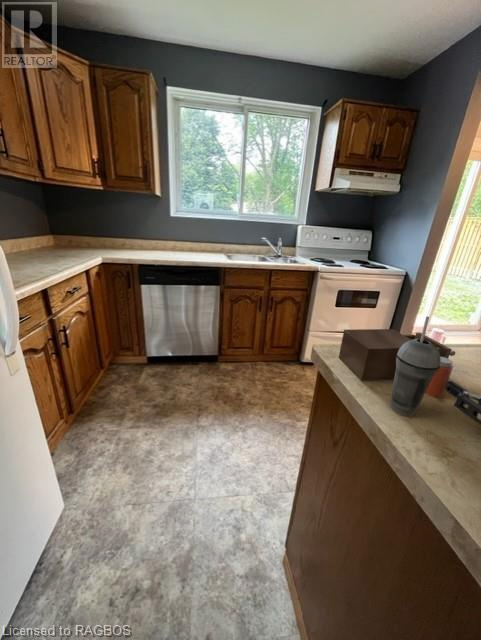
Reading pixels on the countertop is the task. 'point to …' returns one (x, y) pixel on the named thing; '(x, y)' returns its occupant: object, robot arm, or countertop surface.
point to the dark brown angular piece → (442, 348)
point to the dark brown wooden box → (371, 352)
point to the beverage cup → (413, 374)
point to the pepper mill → (440, 378)
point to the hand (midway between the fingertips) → (466, 383)
